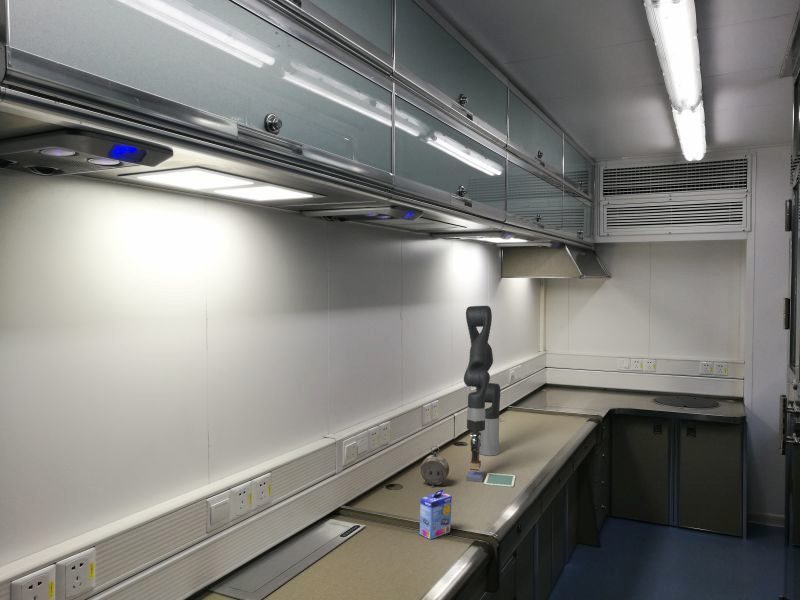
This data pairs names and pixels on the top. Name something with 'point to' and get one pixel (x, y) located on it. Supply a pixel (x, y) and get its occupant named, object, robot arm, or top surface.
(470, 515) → the top surface
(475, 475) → the ink pad
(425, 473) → the alarm clock
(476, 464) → the stamp
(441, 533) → the ink cartridge box
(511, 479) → the green white framed board
